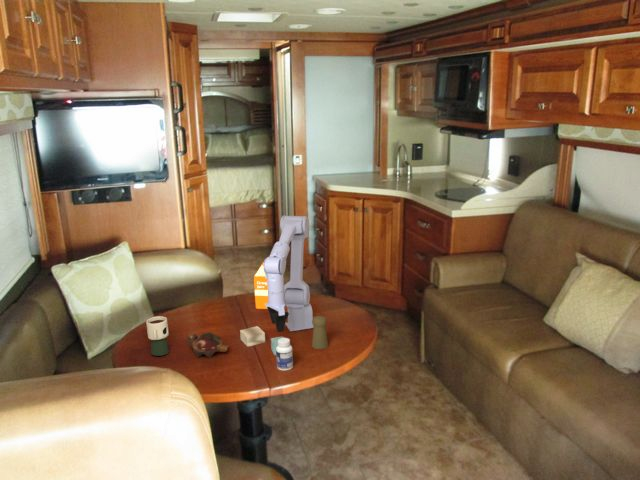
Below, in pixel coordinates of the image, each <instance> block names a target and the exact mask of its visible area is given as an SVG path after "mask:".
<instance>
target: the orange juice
mask: <svg viewBox="0 0 640 480" xmlns="http://www.w3.org/2000/svg"><path fill="white" fill-rule="evenodd" d="M263 265H264V261H263V262H262V263H261V266H260V267H259V268H258V270H257V271H256V273H255V274H254V276H253V283H254V284H253V285H254V300H255V309H259V310H260V309H261V310H262V309H263V310H264V309H265V310H268V309H267V307H266V306H265V303H268V290H267V279H266V278H265V273H264V270H263Z"/></svg>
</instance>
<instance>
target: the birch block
mask: <svg viewBox="0 0 640 480" xmlns="http://www.w3.org/2000/svg"><path fill="white" fill-rule="evenodd" d="M239 332H240V333H239V334H240V341H242V342H243V344H244V345H245V346H246V347H253V346H256V345H259V344H263V343H264V344H265V343H266V333H265V332H264V331H263V329H261V328H260V327H259V326H257V325H256V326H252V327H248V328H244V329H240V330H239Z"/></svg>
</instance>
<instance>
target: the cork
mask: <svg viewBox="0 0 640 480" xmlns="http://www.w3.org/2000/svg"><path fill="white" fill-rule="evenodd" d="M312 324H313V326H314V327H313V328H312V329H313V330H312V339H311V340H312V341H311V348H313V349H316V350H324V349H326V348H328V347H329V342H328V334H327V330H326V325H327V318H326V317H325V316H324V315H316V316H313V319H312Z"/></svg>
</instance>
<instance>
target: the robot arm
mask: <svg viewBox="0 0 640 480" xmlns="http://www.w3.org/2000/svg"><path fill="white" fill-rule="evenodd" d="M279 223H280V225H279V227H280V230H281V233H280V237H279V241H276V242H275V243H274V245H273V247H272V249H271V252H270V254H269V256H267V257H266V258H264V259H263V262H264V265H263V270H264V273H265V278H266V279H267V290H268V303H265V306H266V307H267V309H266V310H267V311H268V313H269V316H270V320H271V324H272V325H274V324H275V327H276V332H277V333H282V332H284V330H285V327H287V329H288V330H289V332H295V331H301V330H306V329H307V330H308V329H314V326H313V324H312V319H313V318H314V315H313V313H314V312H313V308H312V304H311V303H310V300H311V293H310V286H309V285H308V283H306V282H305V281H304V280H303V276H304V275H303V274H304V249H305V247H304V246H305V239H306V238H308V237H309V233H310V232H309V231H310V220H309V218H308V216H307V215H285V214H284V215H282V216H281V218H280V222H279ZM290 243H291V247H290V246H289V245H290ZM289 253H290V271H289V272H290V273H289V274H290V275H289V276H290V277H289V281H287V282H286V283H285V281H284V280H285V279H284V274H285V271H286V268H287V267H286V265H287V258H288V255H289ZM286 307H287V311H285V309H286Z"/></svg>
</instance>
